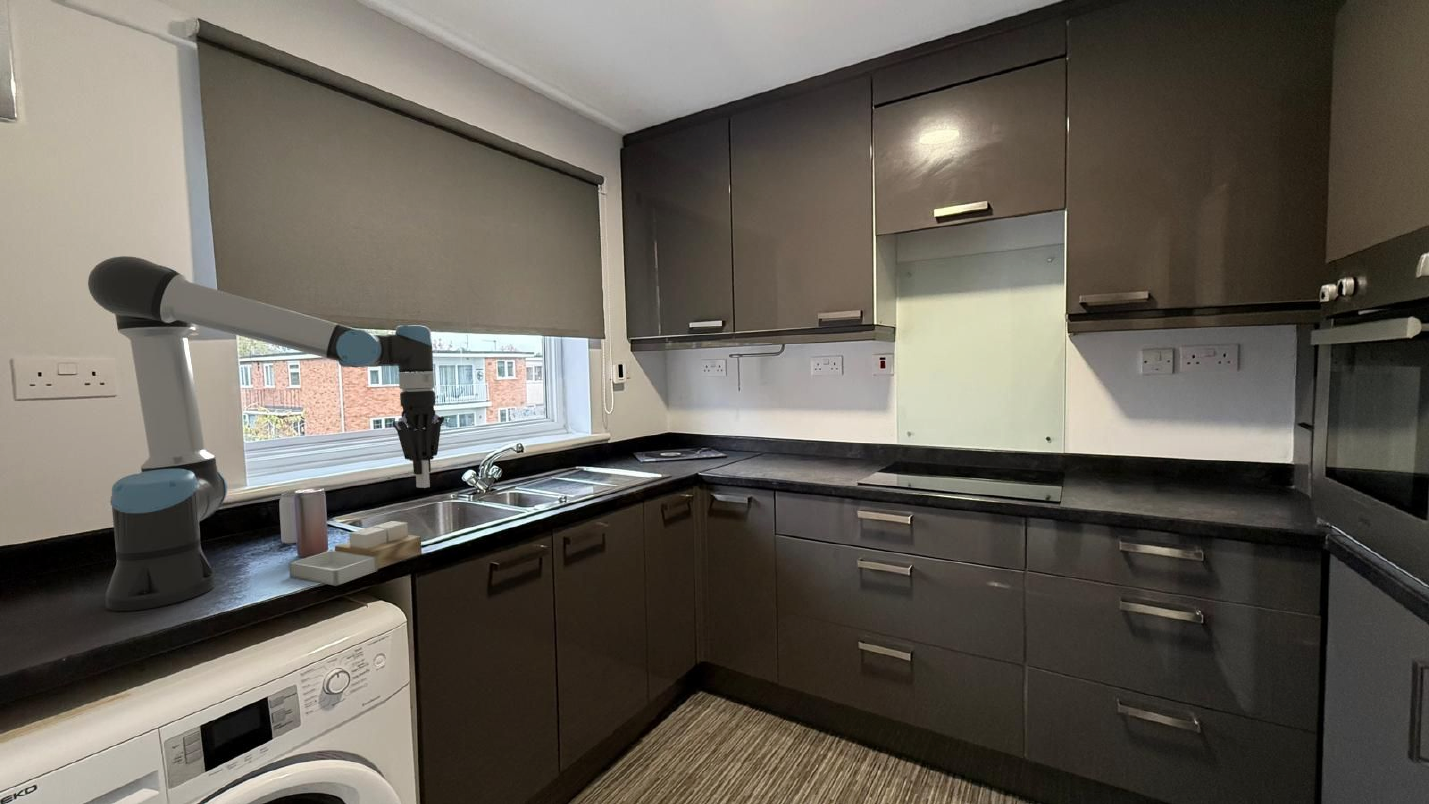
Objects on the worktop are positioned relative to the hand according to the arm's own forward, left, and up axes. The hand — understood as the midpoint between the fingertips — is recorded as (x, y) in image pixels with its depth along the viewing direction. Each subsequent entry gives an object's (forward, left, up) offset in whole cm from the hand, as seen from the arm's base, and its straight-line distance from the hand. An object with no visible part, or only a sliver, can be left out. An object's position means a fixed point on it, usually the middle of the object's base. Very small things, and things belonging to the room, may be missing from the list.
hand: (423, 486), depth 142 cm
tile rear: (-9, 0, -10) cm, 14 cm away
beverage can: (-15, +18, -14) cm, 28 cm away
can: (-9, +33, -14) cm, 37 cm away
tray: (-23, 0, -14) cm, 27 cm away
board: (-12, 0, -14) cm, 19 cm away
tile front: (-15, 0, -10) cm, 18 cm away
